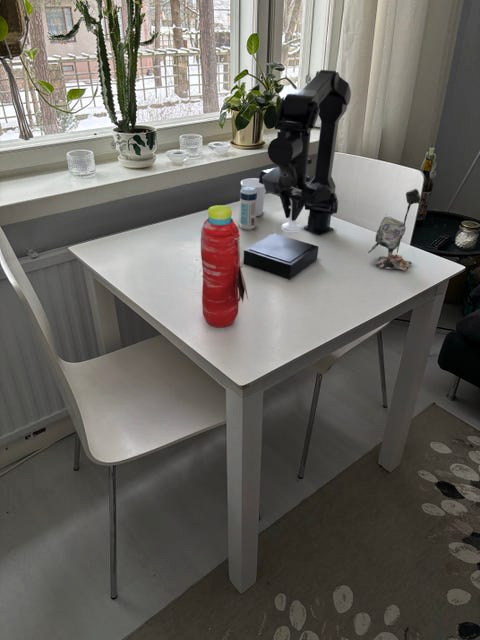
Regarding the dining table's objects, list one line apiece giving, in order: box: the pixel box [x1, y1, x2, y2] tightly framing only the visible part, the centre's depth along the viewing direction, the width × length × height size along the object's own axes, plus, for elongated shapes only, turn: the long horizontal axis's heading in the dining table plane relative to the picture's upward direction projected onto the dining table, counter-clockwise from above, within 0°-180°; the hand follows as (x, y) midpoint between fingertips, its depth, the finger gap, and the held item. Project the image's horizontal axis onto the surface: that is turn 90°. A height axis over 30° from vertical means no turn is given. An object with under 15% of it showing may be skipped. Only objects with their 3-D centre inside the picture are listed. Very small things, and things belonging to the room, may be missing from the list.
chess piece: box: [281, 189, 302, 234], centre depth 119 cm, size 5×5×10 cm
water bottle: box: [200, 204, 249, 328], centre depth 96 cm, size 12×8×25 cm, turn 51°
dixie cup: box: [240, 177, 267, 217], centre depth 154 cm, size 8×8×10 cm
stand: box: [242, 232, 319, 281], centre depth 126 cm, size 14×14×4 cm
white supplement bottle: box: [239, 186, 257, 231], centre depth 143 cm, size 5×5×12 cm
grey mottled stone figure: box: [367, 188, 422, 272], centre depth 122 cm, size 8×11×20 cm
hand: (290, 219), depth 120 cm, fingers closed on chess piece
